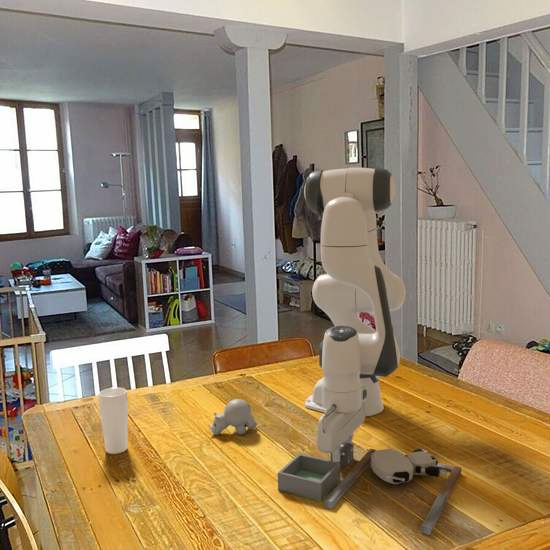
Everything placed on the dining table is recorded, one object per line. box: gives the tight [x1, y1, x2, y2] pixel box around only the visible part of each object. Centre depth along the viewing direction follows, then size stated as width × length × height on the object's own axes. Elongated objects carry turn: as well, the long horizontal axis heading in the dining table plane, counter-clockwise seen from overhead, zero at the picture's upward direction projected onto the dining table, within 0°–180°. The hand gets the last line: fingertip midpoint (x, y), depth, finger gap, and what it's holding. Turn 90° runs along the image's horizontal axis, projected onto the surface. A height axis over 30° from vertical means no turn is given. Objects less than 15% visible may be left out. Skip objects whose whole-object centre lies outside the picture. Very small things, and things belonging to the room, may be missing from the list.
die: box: [330, 442, 355, 468], centre depth 138 cm, size 4×4×4 cm
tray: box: [277, 453, 342, 503], centre depth 128 cm, size 10×10×4 cm
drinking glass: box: [98, 387, 129, 455], centre depth 146 cm, size 7×7×15 cm
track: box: [324, 448, 462, 536], centre depth 126 cm, size 21×28×2 cm
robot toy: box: [365, 448, 448, 485], centre depth 131 cm, size 12×4×15 cm
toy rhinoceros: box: [208, 398, 258, 436], centre depth 156 cm, size 7×12×8 cm, turn 101°
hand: (342, 455), depth 138 cm, fingers closed on die, 4 cm apart
